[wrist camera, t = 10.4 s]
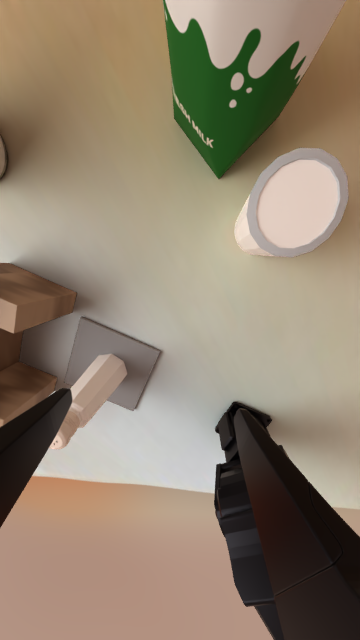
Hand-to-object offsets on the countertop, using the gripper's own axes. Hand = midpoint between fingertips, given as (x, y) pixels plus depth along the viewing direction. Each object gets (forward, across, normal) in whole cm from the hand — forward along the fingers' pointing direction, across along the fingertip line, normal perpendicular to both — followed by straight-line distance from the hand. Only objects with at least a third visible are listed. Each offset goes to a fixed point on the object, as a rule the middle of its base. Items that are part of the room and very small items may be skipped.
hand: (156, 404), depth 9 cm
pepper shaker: (+14, +8, +11) cm, 19 cm away
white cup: (+15, -8, -11) cm, 20 cm away
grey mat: (+14, +8, +11) cm, 19 cm away
